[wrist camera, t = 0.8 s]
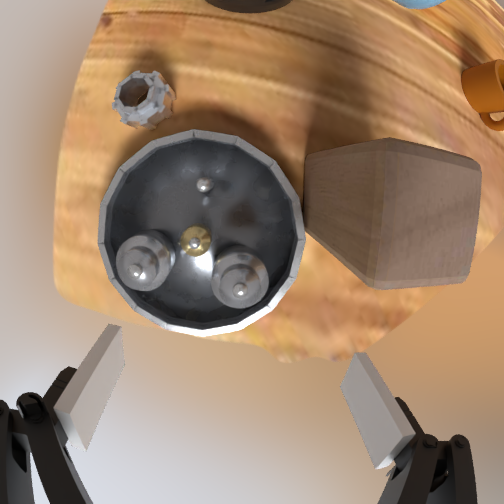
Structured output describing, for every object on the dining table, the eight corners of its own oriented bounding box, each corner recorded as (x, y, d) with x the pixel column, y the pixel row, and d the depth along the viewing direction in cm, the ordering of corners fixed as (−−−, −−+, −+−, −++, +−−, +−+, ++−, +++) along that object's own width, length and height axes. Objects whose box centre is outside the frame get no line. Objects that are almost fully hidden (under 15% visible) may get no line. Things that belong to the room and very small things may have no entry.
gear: (131, 79, 29) (114, 64, 23) (180, 81, 30) (170, 65, 24) (119, 127, 31) (99, 120, 25) (168, 131, 31) (155, 124, 26)
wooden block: (303, 152, 33) (383, 133, 14) (374, 160, 34) (486, 160, 15) (300, 231, 36) (369, 296, 17) (369, 232, 36) (470, 287, 17)
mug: (462, 120, 32) (499, 115, 24) (458, 61, 29) (490, 49, 21) (491, 137, 33) (526, 136, 24) (488, 81, 30) (520, 74, 21)
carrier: (123, 124, 31) (95, 114, 23) (317, 156, 33) (340, 152, 26) (106, 303, 37) (83, 331, 29) (274, 333, 40) (283, 368, 32)
